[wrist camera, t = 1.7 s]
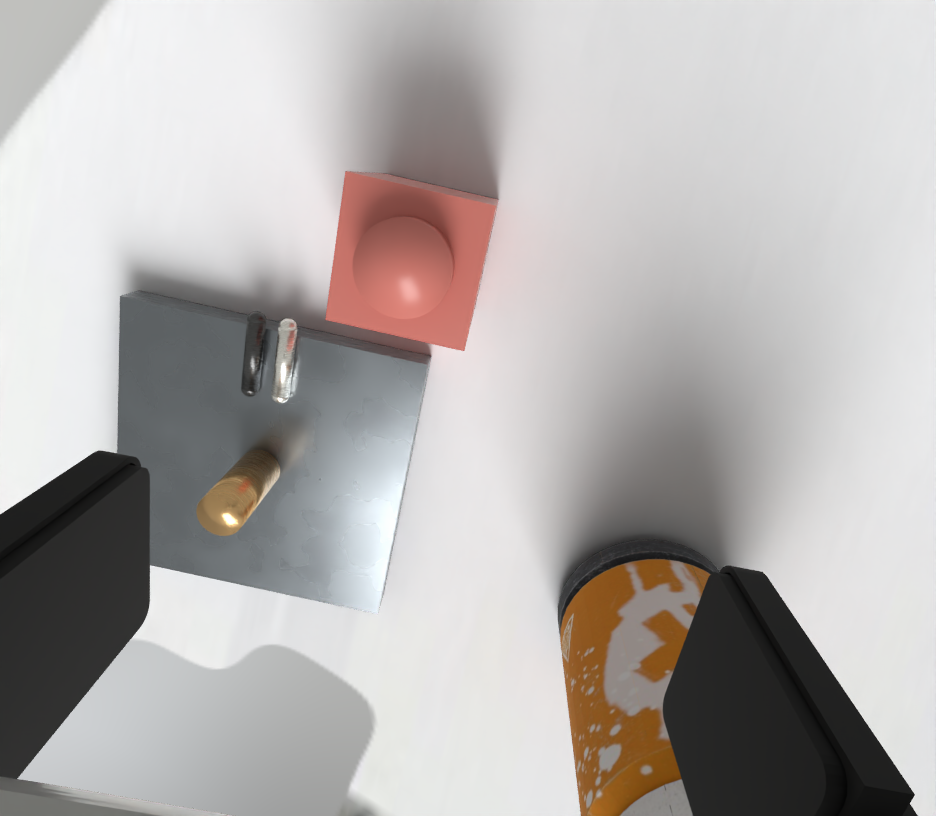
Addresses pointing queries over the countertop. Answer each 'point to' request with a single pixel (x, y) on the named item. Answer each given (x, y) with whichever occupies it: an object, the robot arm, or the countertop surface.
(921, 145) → the countertop surface
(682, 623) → the canister
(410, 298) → the pink cube with dome
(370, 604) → the grey plate with peg
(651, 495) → the countertop surface
